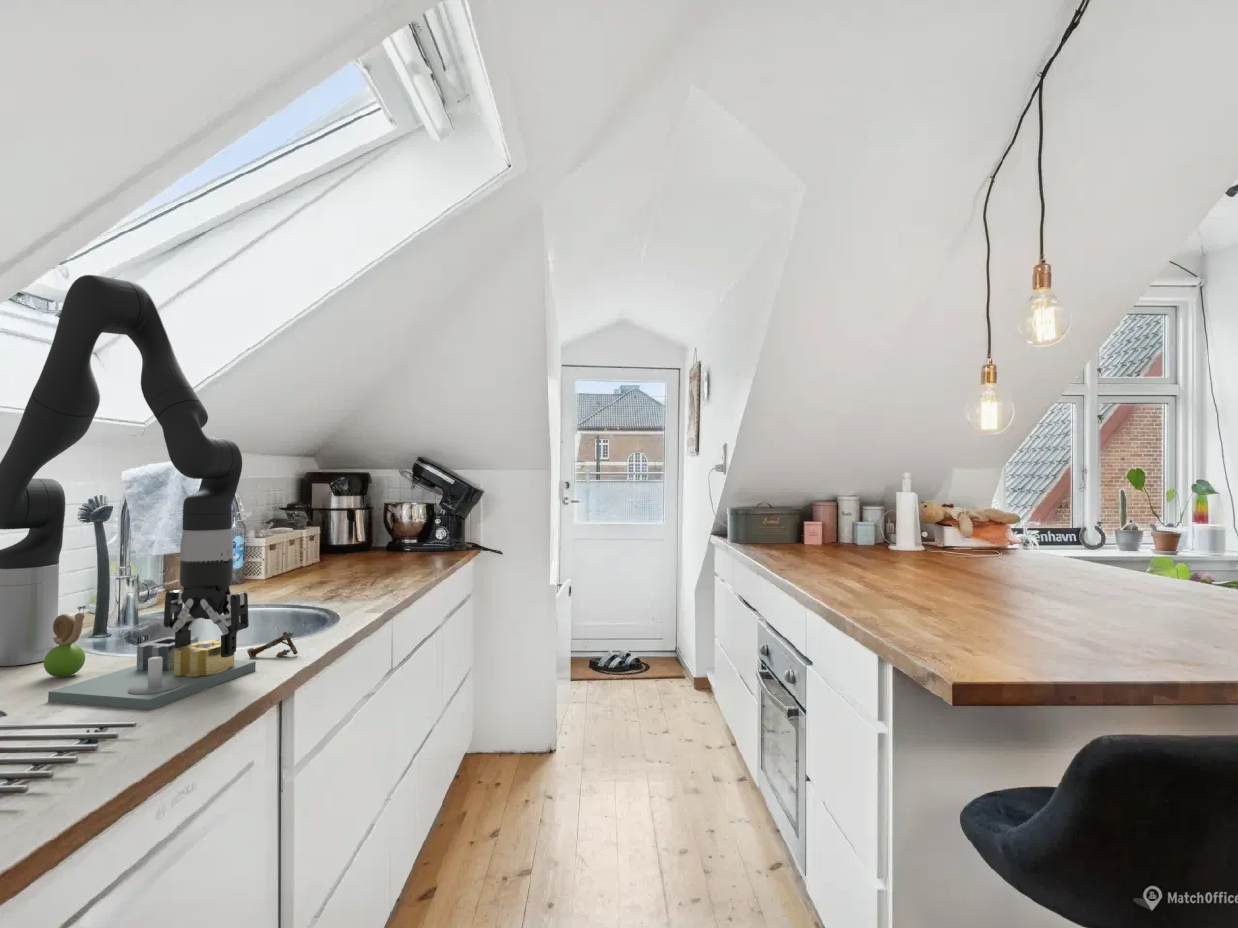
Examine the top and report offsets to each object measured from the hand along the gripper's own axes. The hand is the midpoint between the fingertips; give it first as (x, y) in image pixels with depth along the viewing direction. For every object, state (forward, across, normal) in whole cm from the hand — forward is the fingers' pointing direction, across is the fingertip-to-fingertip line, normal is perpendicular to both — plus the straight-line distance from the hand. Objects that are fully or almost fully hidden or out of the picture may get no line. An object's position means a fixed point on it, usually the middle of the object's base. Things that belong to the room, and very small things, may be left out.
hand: (205, 654), depth 113 cm
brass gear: (+2, 0, 0) cm, 2 cm away
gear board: (+4, -5, -4) cm, 7 cm away
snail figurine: (+4, -24, -3) cm, 25 cm away
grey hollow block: (+3, -9, +2) cm, 10 cm away
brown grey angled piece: (+4, 0, +15) cm, 16 cm away
